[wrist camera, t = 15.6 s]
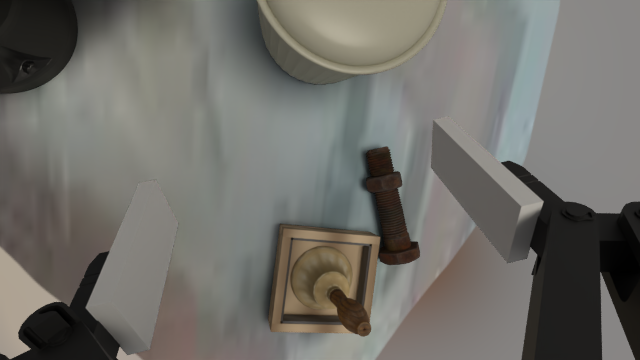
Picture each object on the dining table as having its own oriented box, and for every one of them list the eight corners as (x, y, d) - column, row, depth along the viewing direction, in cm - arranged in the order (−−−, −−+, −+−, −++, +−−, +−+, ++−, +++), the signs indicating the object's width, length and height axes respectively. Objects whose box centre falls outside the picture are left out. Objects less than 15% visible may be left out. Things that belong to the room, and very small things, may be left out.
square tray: (268, 319, 46) (270, 331, 43) (280, 223, 46) (283, 228, 43) (358, 321, 49) (368, 333, 46) (370, 232, 49) (380, 236, 46)
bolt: (371, 149, 51) (393, 251, 52) (348, 155, 47) (372, 263, 48) (406, 142, 46) (429, 252, 47) (383, 147, 43) (409, 266, 44)
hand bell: (277, 277, 45) (299, 334, 30) (325, 232, 46) (371, 265, 31) (318, 321, 47) (360, 398, 31) (363, 277, 48) (426, 330, 32)
